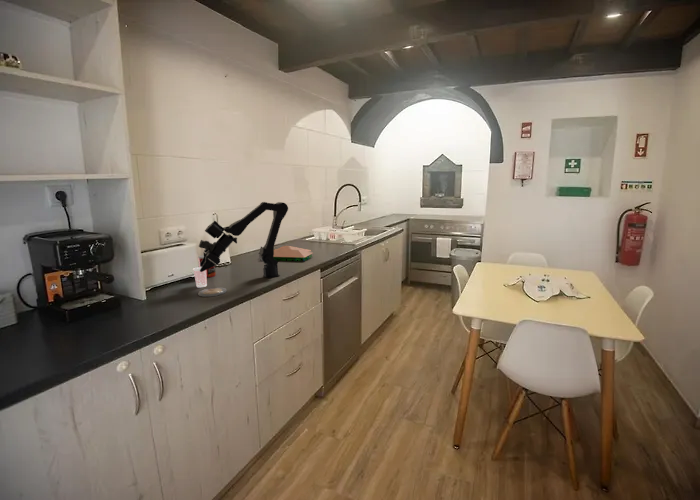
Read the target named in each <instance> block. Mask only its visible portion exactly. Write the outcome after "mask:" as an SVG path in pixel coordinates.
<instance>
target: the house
mask: <svg viewBox="0 0 700 500" xmlns="http://www.w3.org/2000/svg"><path fill="white" fill-rule="evenodd" d="M313 254H314V252H312V250H311V249H306V248H301V247H296V246H291V245H283V246H281V247H279V248H276V249H274V256H273V258H274V259H275V260H278V259H280V258H281V261H284V260H285V258H288V262H290V261H291V259H292V258H294V261H297V260H298V262H299V261H300V262H301V261H302V260H303V261H308V260H309V259H310V258H311V257H312V258H313ZM301 259H302V260H301Z"/></svg>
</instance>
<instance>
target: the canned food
mask: <svg viewBox="0 0 700 500" xmlns="http://www.w3.org/2000/svg"><path fill="white" fill-rule="evenodd" d="M203 257H204V254H202V255H198V257H197V259H198V258H199V260H200V263H201V261H202V259H203ZM206 275H207V277H209V278H214V277H215V276H216V275H217V273H216V266H213V267H211V268H209V269H207V270H206Z"/></svg>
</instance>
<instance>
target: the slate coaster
mask: <svg viewBox="0 0 700 500" xmlns="http://www.w3.org/2000/svg"><path fill="white" fill-rule="evenodd" d="M227 292H228V291H227V288H226V287H211V288H205V289H203V290H202V289H201V290H200V291H198V294H197V295H198V296H199V297H203V298H211V297H216V296H217V297H218V296H222V295H224V294H226V293H227Z"/></svg>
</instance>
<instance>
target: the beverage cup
mask: <svg viewBox="0 0 700 500" xmlns="http://www.w3.org/2000/svg"><path fill="white" fill-rule="evenodd" d="M197 259H198V266H196V267H194V268H192V272H193V275H194V279H195V285H196V288H205V287H207V286H208V280H207V279H208V278H207V275H206V270H205V271H203V272H200V269H201V267H200V260H199V258H198V257H197Z"/></svg>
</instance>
